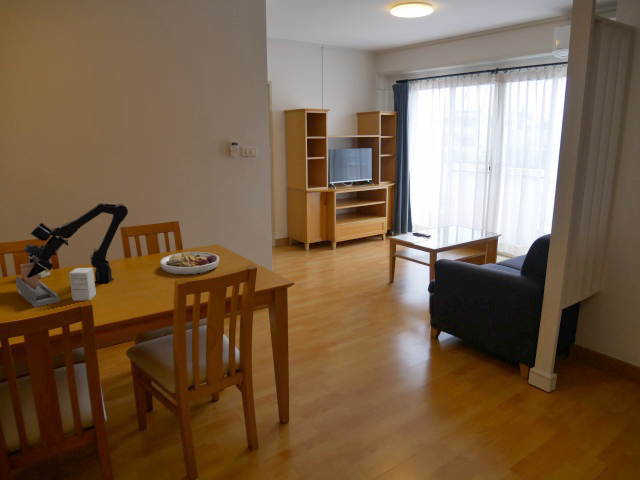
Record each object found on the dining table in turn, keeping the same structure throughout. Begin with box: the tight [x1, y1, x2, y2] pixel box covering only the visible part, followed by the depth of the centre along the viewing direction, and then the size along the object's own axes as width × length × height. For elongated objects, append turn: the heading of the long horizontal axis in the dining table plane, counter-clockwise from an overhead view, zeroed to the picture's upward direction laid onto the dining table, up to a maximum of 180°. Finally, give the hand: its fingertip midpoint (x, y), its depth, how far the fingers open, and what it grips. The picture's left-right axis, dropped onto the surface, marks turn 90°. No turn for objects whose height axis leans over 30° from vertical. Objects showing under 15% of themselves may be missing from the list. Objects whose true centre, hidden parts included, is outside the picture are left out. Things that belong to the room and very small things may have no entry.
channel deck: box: [15, 276, 61, 308], centre depth 200 cm, size 26×10×7 cm, turn 46°
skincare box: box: [38, 269, 51, 279], centre depth 227 cm, size 6×4×12 cm
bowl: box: [160, 251, 220, 276], centre depth 245 cm, size 30×30×8 cm
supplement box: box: [68, 267, 97, 302], centre depth 199 cm, size 7×7×13 cm
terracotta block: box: [20, 262, 40, 288], centre depth 205 cm, size 5×5×10 cm
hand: (26, 275), depth 204 cm, fingers closed on terracotta block, 5 cm apart
